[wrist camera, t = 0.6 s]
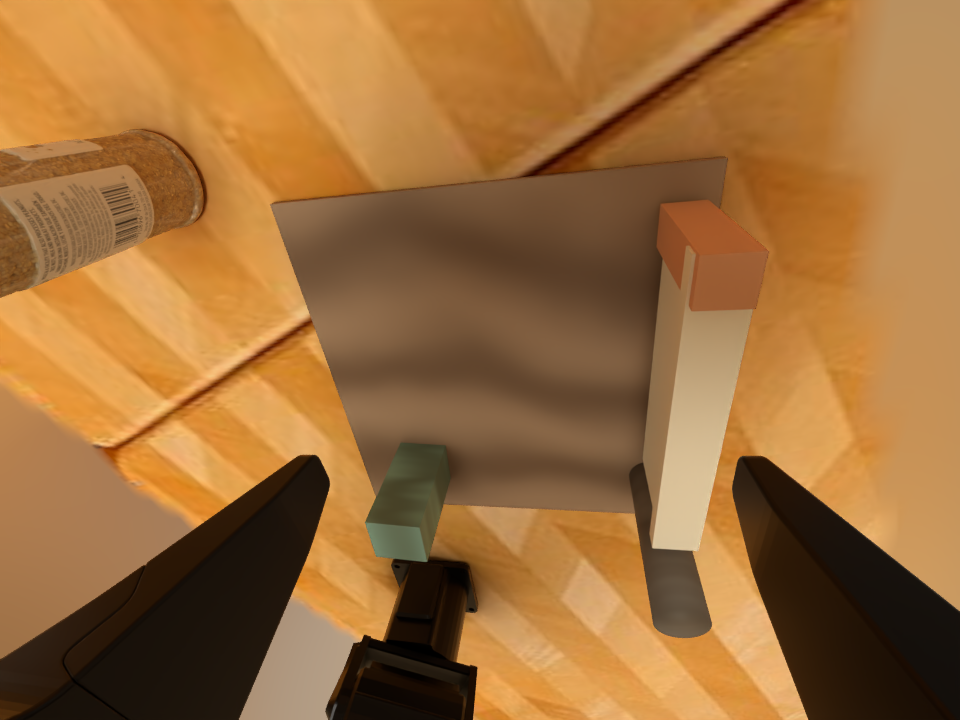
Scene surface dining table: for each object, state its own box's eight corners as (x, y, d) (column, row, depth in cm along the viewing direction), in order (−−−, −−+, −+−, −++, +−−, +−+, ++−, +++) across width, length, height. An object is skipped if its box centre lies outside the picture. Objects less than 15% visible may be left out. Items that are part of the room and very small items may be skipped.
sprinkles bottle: (122, 107, 20) (-437, 147, 9) (217, 165, 21) (-187, 269, 10) (116, 195, 22) (-327, 314, 11) (201, 244, 23) (-136, 400, 12)
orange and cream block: (672, 459, 25) (700, 558, 20) (635, 458, 25) (653, 555, 20) (710, 199, 17) (772, 250, 12) (657, 203, 18) (696, 255, 13)
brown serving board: (668, 510, 28) (706, 665, 21) (379, 496, 32) (324, 623, 25) (724, 156, 17) (847, 218, 10) (274, 202, 21) (118, 270, 14)
